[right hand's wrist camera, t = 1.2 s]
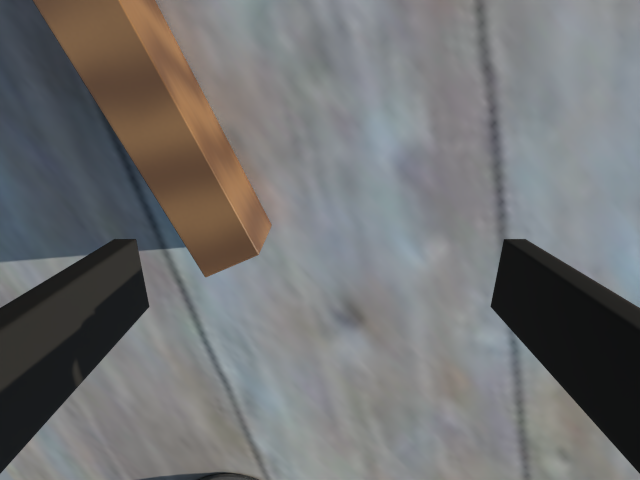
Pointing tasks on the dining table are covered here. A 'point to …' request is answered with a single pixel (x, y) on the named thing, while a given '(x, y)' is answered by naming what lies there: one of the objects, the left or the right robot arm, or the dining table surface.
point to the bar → (163, 124)
